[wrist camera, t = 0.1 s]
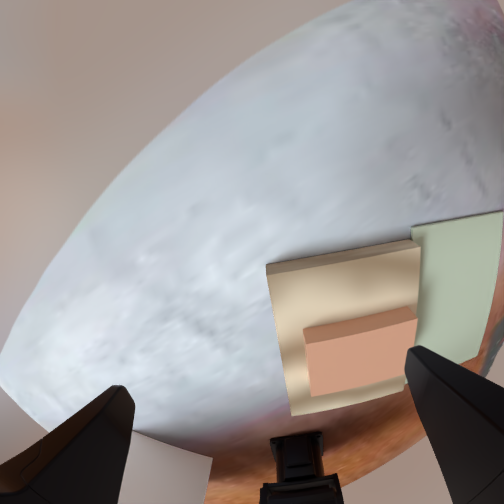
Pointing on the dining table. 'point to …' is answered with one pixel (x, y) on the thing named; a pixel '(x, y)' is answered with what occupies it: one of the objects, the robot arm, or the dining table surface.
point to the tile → (358, 350)
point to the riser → (338, 309)
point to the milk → (163, 474)
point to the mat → (456, 283)
